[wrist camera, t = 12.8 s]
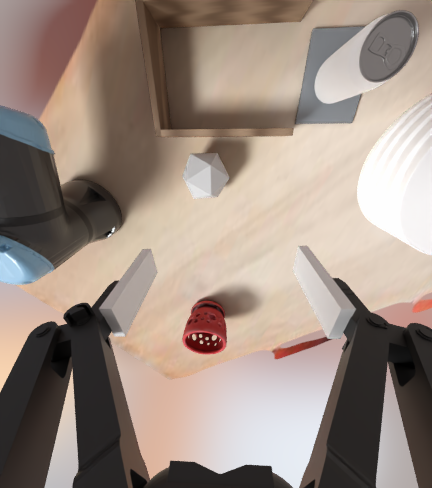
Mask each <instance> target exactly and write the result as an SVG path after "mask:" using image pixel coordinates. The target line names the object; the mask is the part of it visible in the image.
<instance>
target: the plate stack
mask: <svg viewBox="0 0 432 488" xmlns="http://www.w3.org/2000/svg"><path fill="white" fill-rule="evenodd" d="M357 195H358V203H359V206H360V209H361V211H362V213H363V214H364V216H365V217H366V218H367V219H368V220H369V221H370V222H371V223H373V224H374V225H376V226H378V227H379V228H381V229H383V230H384V231H386V232H388V233H390V234H391V235H393V236H395V237H396V238H398V239H400V240H401V241H403V242H405V243H406V244H408V245H410V246H411V247H413V248H415V249H417V250H418V251H420V252H423V253H425V254H428V255H432V93H431V94H430V95H428V96H426V97H425V98H423V99H422V100H420V101H419V102H417V103H416V104H414V105H413V106H412V107H410V108H409V109H408V110H407V111H405V112H404V113H403V114H402V115H401V116H400V117H399V118H398V119H397V120H396V121H394V122H393V123H392V125H391V126H390V127H389V128H388V129H387V130H386V131H385V132H384V133H383V135H382V136H381V137H380V138H379V140H378V141H377V142H376V144H375V145H374V147H373V148H372V150H371V152H370V153H369V155H368V157H367V159H366V161H365V163H364V165H363V168H362V171H361V174H360V177H359V182H358V190H357Z"/></svg>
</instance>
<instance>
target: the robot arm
mask: <svg viewBox="0 0 432 488" xmlns="http://www.w3.org/2000/svg"><path fill="white" fill-rule="evenodd" d="M54 154H55V153H54V151H53V150H52V148H51V145H50V141H49V138H48V134H47V131H46V128H45V127H44V125H43V124H42V123H41V122H40V121H39V120H38V119H37V118H35V117H34V116H32V115H30V114H27V113H24V112H21V111H18V110H15V109H11V108H8V107H4V106H1V105H0V282H3V283H8V284H15V285H24V284H29V283H32V282H35V281H37V280H38V279H40V278H41V277H43V276H44V275H46V274H48V273H51V272H52V271H53V270H54V269H56V268H57V267H58V266H60V265H61V264H62V263H63V262H65V261H66V260H67V259H69V258H70V257H71V256H73V255H74V254H75V253H77V252H78V251H79V250H81V249H82V248H83V247H84V246H86V245H87V244H89V243H92V242H96V241H100V240H104V239H106V238H109V237H110V236H112V235H113V234H114V233H115V232H117V231H118V229H119V228H120V225H121V220H122V217H121V211H120V208H119V206H118V204H117V202H116V201H115V199H114V198H113V197H112V196H111V194H110V193H109V192H108V191H106V190H105V189H104V188H102V187H101V186H99V185H98V184H96V183H93V182H91V181H87V180H74V181H71V182H67V183H65V184H63V185H61V186H60V181H59V177H58V172H57V168H56V163H55V159H54ZM293 272H294V274H295V276H296V278H297V280H298V282H299V284H300V286H301V288H302V290H303V292H304V293H305V295H306V297H307V299H308V301H309V303H310V305H311V307H312V309H313V311H314V313H315V315H316V317H317V319H318V321H319V323H320V324H321V326H322V328H323V330H324V332H325V334H326V336H327V338H328V339H340V338H341V337H342V335H343V333H344V334H345V336H346V337H347V341H346V342H345V344H344V346H343V348H342V349H343V352H342V356H341V359H340V362H339V366H338V369H337V372H336V376H335V379H334V382H333V385H332V389H331V392H330V395H329V398H328V402H327V405H326V408H325V412H324V415H323V418H322V421H321V425H320V428H319V432H318V435H317V438H316V441H315V444H314V448H313V451H312V454H311V458H310V461H309V463H308V466H307V468H306V470H305V473H304V475H303V478H302V481H301V484H300V487H299V488H376V473H377V463H378V452H379V442H380V433H381V423H382V412H383V403H384V393H385V382H386V372H387V362H388V364H389V369H390V373H391V377H392V380H393V385H394V389H395V393H396V397H397V401H398V405H399V409H400V413H401V417H402V421H403V426H404V430H405V433H406V438H407V441H408V446H409V450H410V454H411V458H412V462H413V466H414V470H415V474H416V478H417V482H418V486H419V488H432V329H431V328H429V327H427V326H424V325H422V324H418V323H410V324H409V325H408V326H407V328H404V327H400V326H396V325H392V324H389V323H388V322H387V321H386V320H385V319H383V318H382V317H380V316H379V315H377V314H374V313H371V312H370V311H369V310H368V309H367V308H366V307H365V305H364V304H363V303H362V302H361V301H360V299H359V298H358V297H357V296H356V295H355V294H354V292H353V291H352V290H351V289H350V288H349V286H348V285H347V284H346V283H345V282H343V281H342V280H340V279H339V278H332V277H331V276H330V275H329V273H328V272H327V271H326V269H325V268H324V267H323V266H322V264H321V263H320V262H319V260H318V259H317V258H316V256H315V255H314V254H313V253H312V251H311V250H310V249H309V247H308V246H298V250H297V254H296V259H295V263H294V268H293ZM156 274H157V269H156V265H155V262H154V258H153V254H152V251H151V249H143V250H142V251H141V252H140V254H139V255H138V256H137V258H136V259H135V260H134V262H133V263H132V264H131V266H130V267H129V269H128V270H127V271H126V273H125V274H124V275H123V277H122V278H121V279H120V281H114V282H113V283H111V284H110V285H109V286H108V287H107V289H106V290H105V292H103V294H102V295H101V296H100V297H99V299H98V300H97V301H96V303H95V304H94V305H93V306H92V308H91V307H90V305H89V304H88V303H80V304H77V305H75V306H73V307H71V308H70V309H69V310H68V311H67V312H66V313H65V314H64V320H65V321H66V322H67V324H64V325H61V326H58V325H57V324H56V323H55V322H52V321H51V322H47V323H44V324H42V325H40V326H39V327H37V328H35V329H34V330H33V331H32V332H31V333H30V335H29V336H28V338H27V340H26V342H25V344H24V346H23V348H22V350H21V352H20V354H19V356H18V358H17V360H16V362H15V364H14V366H13V368H12V370H11V372H10V374H9V376H8V378H7V380H6V382H5V384H4V386H3V388H2V390H1V392H0V488H44V486H45V482H46V478H47V474H48V470H49V465H50V460H51V457H52V452H53V448H54V444H55V440H56V435H57V431H58V426H59V423H60V418H61V414H62V410H63V405H64V401H65V397H66V392H67V388H68V383H69V380H70V375H71V371H72V367H73V383H74V399H75V412H76V413H75V414H76V431H77V446H78V460H79V461H78V462H79V469H78V473H77V474H76V476H75V478H74V481H73V488H293V487H292V486H291V485H290V484H289V483H287V482H286V481H285V480H284V479H283V478H281V477H279V476H278V475H277V474H275V473H273V472H272V467H271V466H259V465H244V466H242V467H239V468H236V469H234V470H231V471H228V472H226V473H223V474H218V473H216V472H214V471H212V470H209V469H207V468H206V467H203V466H201V465H199V464H197V463H195V462H184V461H170V466H169V468H166V469H164V470H163V471H161V472H159V473H158V474H157V475H155V476H154V477H153V478H152V479H151V480H150V478H149V474H148V471H147V468H146V465H145V462H144V460H143V458H142V456H141V453H140V450H139V446H138V442H137V439H136V435H135V431H134V428H133V424H132V420H131V417H130V413H129V409H128V405H127V401H126V398H125V394H124V390H123V386H122V382H121V379H120V375H119V371H118V368H117V364H116V360H115V356H114V353H113V349H112V345H111V341H110V338H109V337H108V336H109V335H110V333H111V331H112V333H113V334H114V336H126V334H127V332H128V330H129V328H130V326H131V324H132V322H133V320H134V318H135V316H136V314H137V312H138V310H139V308H140V306H141V304H142V302H143V300H144V298H145V296H146V294H147V292H148V290H149V288H150V286H151V284H152V282H153V280H154V278H155V276H156Z"/></svg>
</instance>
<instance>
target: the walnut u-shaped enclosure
mask: <svg viewBox="0 0 432 488" xmlns="http://www.w3.org/2000/svg"><path fill="white" fill-rule="evenodd" d="M312 1H313V0H135V2H136V9H137V16H138V22H139V29H140V35H141V42H142V49H143V55H144V62H145V68H146V75H147V82H148V88H149V95H150V101H151V108H152V115H153V121H154V128H155V134H156V137H240V136H292V135H293V130H294V128H266V129H173V130H171V122H170V113H169V104H168V95H167V86H166V77H165V68H164V60H163V51H162V42H161V33H160V28H176V27H197V26H218V25H239V24H260V23H281V22H301V20H302V18H303V16H304V15H305V13H306V11H307V10H308V8H309V6H310V5H311V3H312Z"/></svg>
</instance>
